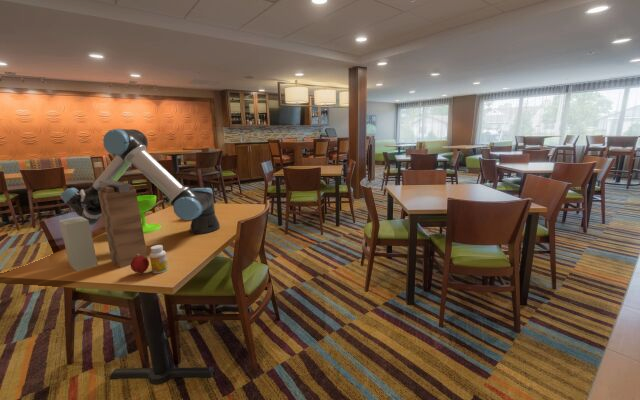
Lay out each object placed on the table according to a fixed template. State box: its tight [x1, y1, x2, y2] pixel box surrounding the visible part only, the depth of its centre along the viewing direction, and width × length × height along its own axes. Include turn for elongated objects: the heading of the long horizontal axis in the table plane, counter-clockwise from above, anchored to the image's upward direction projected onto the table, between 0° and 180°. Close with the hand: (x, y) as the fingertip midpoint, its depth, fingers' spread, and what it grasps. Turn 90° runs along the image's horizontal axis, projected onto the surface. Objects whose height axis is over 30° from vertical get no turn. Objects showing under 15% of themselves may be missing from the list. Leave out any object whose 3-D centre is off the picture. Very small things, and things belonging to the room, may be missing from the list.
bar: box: [99, 180, 130, 193], centre depth 117 cm, size 22×4×3 cm, turn 52°
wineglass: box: [137, 194, 162, 234], centre depth 162 cm, size 16×16×18 cm
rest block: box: [58, 216, 99, 272], centre depth 118 cm, size 10×7×19 cm
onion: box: [130, 254, 150, 275], centre depth 110 cm, size 6×6×8 cm
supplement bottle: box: [149, 244, 169, 274], centre depth 111 cm, size 5×5×10 cm
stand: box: [98, 184, 149, 268], centre depth 119 cm, size 10×10×32 cm
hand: (102, 189), depth 125 cm, fingers open, 13 cm apart
